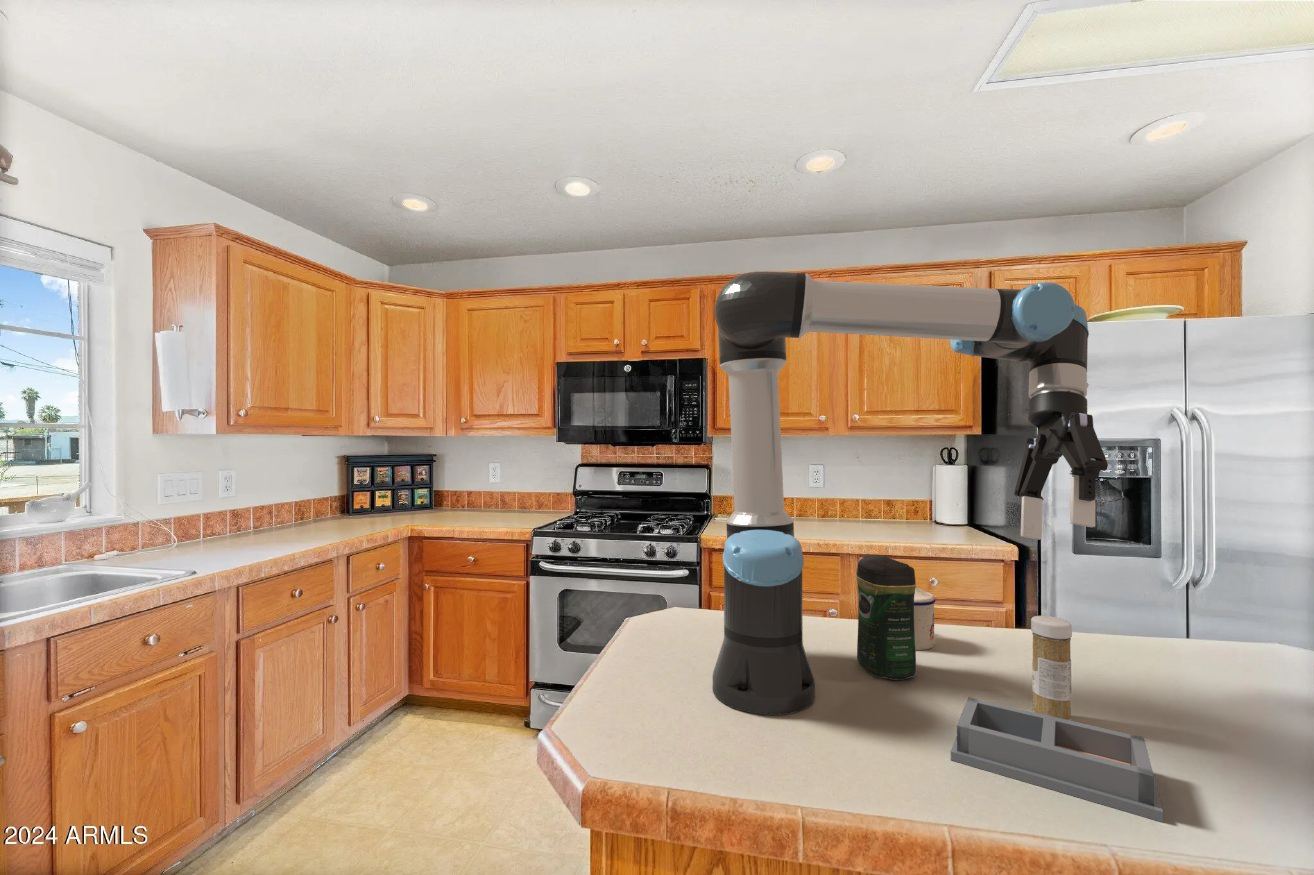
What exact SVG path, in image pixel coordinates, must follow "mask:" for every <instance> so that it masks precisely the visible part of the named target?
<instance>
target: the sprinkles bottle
mask: <svg viewBox="0 0 1314 875" xmlns="http://www.w3.org/2000/svg"><path fill="white" fill-rule="evenodd" d="M1030 622H1031V623H1030V630H1031V632H1032V662H1031V663H1032V665H1031V666H1032V668H1031V670H1032V671H1031V672H1032V673H1031V674H1032V678H1031V679H1032V682H1031V683H1032V684H1031V686H1032V687H1031V688H1032V698H1033V699H1032V706H1033V707H1032V709H1031V710H1032V711H1031V712H1035V713H1040V714H1044V715H1048V716H1053V717H1057V718H1061V719H1066V720H1070V721H1073V718H1072V714H1071V713H1072V712H1071V711H1072V710H1071V709H1072V708H1071V702H1072V658H1071V639H1072V636H1073V629H1072V622H1070V621H1068V620H1067V619H1064V618H1061V617H1057V616H1050V615H1035V616H1032V617H1031V619H1030Z"/></svg>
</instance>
